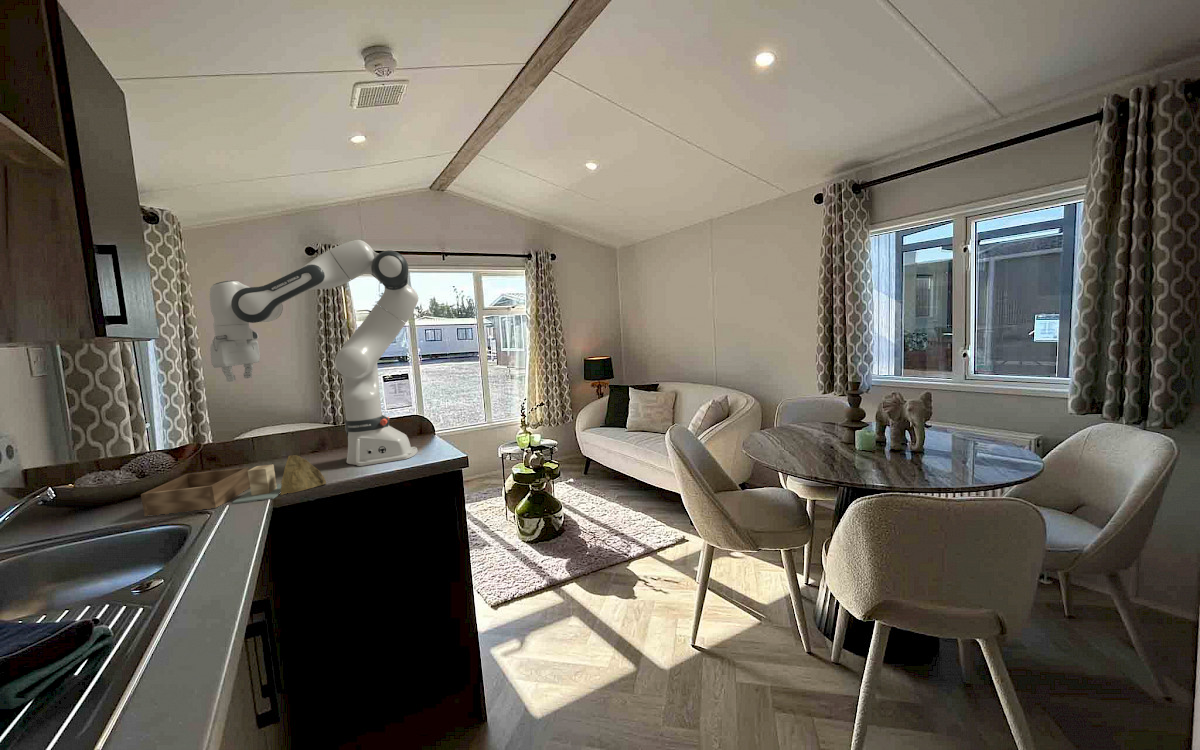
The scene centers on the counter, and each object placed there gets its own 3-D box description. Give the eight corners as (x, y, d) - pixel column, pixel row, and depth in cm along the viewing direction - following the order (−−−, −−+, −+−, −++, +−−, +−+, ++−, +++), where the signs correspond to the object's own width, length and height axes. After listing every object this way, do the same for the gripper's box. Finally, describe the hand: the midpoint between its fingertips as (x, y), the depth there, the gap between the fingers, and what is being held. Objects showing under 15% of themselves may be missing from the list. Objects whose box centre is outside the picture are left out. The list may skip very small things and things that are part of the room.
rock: (334, 472, 148) (299, 470, 148) (325, 454, 143) (289, 452, 142) (318, 504, 141) (282, 502, 140) (308, 486, 135) (270, 484, 134)
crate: (251, 486, 148) (248, 467, 147) (215, 508, 131) (212, 486, 130) (189, 494, 146) (186, 474, 145) (144, 516, 128) (140, 494, 128)
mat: (294, 484, 147) (294, 482, 147) (272, 499, 135) (272, 497, 135) (257, 488, 146) (257, 486, 146) (232, 503, 133) (231, 502, 133)
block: (277, 488, 143) (273, 464, 142) (269, 493, 138) (265, 468, 138) (260, 490, 142) (256, 466, 141) (251, 495, 138) (247, 470, 137)
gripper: (224, 334, 143) (232, 382, 145) (261, 333, 164) (267, 375, 165) (200, 336, 143) (208, 384, 144) (240, 335, 163) (246, 377, 164)
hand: (240, 379), depth 155 cm, fingers open, 8 cm apart
